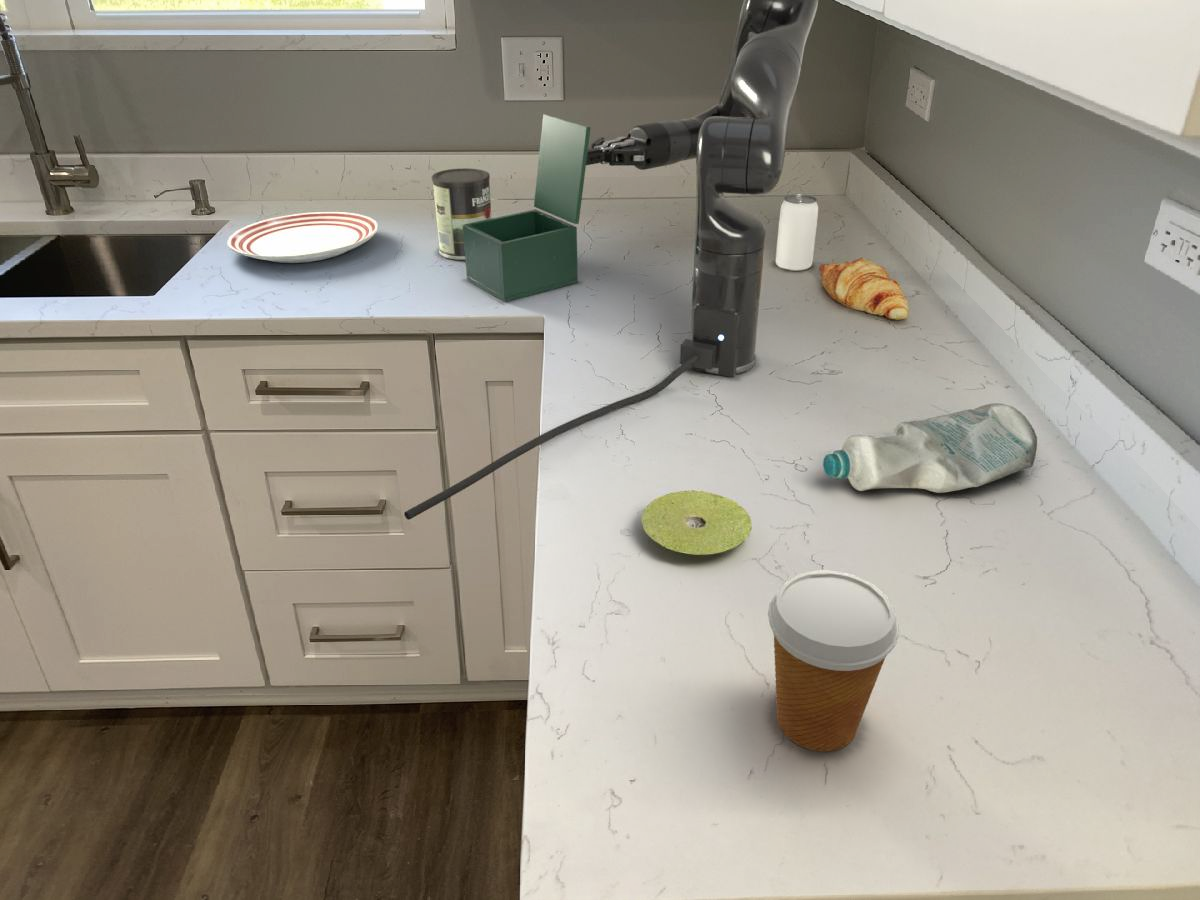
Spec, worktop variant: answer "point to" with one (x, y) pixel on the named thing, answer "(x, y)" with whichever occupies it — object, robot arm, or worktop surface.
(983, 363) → the worktop surface
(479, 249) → the caddy
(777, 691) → the disposable coffee cup
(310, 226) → the dinner plate
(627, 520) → the worktop surface
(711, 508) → the green disc
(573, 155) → the lid
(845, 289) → the croissant
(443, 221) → the coffee can
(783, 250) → the can
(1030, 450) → the crushed plastic bottle
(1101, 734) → the worktop surface
